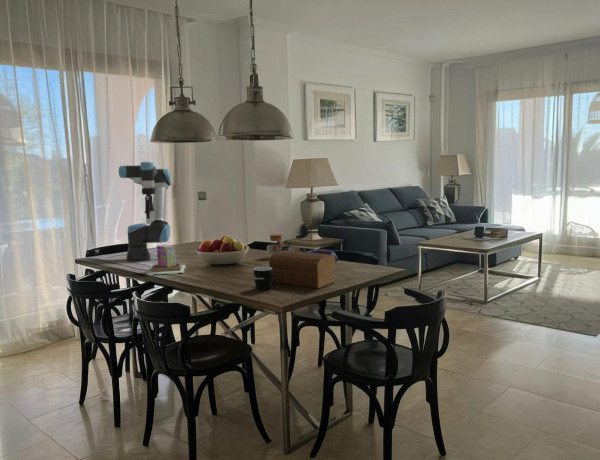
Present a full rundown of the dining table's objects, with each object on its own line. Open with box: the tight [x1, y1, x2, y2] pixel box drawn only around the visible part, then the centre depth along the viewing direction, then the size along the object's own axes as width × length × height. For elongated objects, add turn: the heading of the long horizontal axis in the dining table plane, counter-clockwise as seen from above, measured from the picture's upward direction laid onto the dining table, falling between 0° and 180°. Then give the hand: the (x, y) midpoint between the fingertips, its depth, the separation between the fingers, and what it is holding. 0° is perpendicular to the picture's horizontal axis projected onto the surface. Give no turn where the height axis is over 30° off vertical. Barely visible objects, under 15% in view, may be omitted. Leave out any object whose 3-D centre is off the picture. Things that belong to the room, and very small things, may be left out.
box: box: [156, 244, 177, 267], centre depth 302 cm, size 10×6×12 cm, turn 47°
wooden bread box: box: [268, 249, 336, 289], centre depth 266 cm, size 18×30×16 cm, turn 56°
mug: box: [253, 266, 276, 291], centre depth 254 cm, size 12×9×10 cm
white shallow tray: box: [146, 262, 186, 276], centre depth 303 cm, size 22×20×3 cm
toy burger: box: [266, 233, 285, 259], centre depth 339 cm, size 12×13×15 cm
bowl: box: [307, 249, 339, 264], centre depth 301 cm, size 18×18×10 cm
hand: (150, 222), depth 315 cm, fingers open, 13 cm apart
